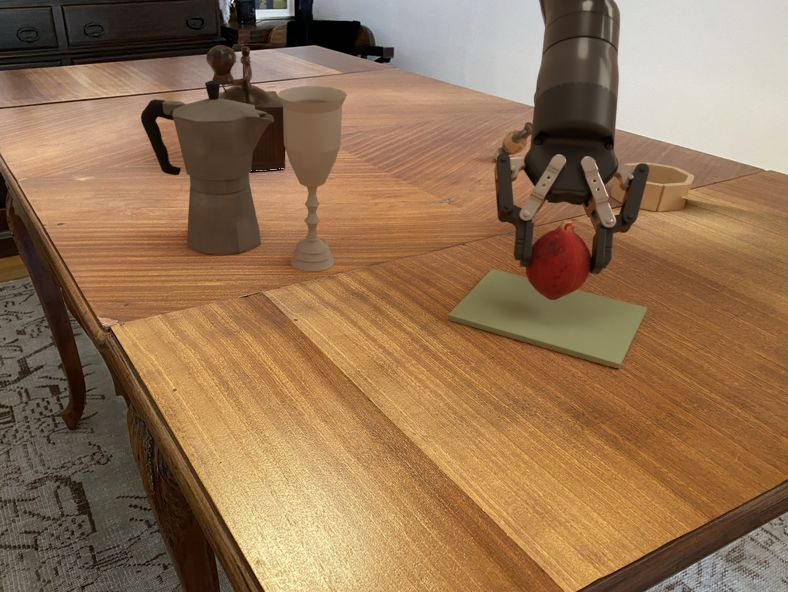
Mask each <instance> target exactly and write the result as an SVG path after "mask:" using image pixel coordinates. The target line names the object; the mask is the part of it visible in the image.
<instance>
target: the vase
mask: <svg viewBox="0 0 788 592" xmlns="http://www.w3.org/2000/svg"><path fill="white" fill-rule="evenodd" d="M532 123H533V122H531V121H528V122H525V123H524V126H523V128H522V129H521V130H511V131H509V132H508V133H506V135H505V137H504V138H503V141H502V146H501V147H498V148H497V149H496V150H495V151H493V152H492V154H493V156H492V160H493V161H496V160H497V157H498V155H499V154H501V153H506V154H508V155H509V157H510V156H511V157H512V158H515V157H514V155H517V154H520V153H521V152H523V151H524V149H525V148H526V147H527V144H528V138H529V137H531V133H532ZM511 157H510V158H511Z"/></svg>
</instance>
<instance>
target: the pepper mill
mask: <svg viewBox="0 0 788 592" xmlns="http://www.w3.org/2000/svg"><path fill="white" fill-rule="evenodd" d="M240 51H241V57H240V63H241V64H242V78H237V79H234V76H233V74H232V69H233V67H234V65H235V64H236V62H237V55H236V52H235V51H234V49H232V48H231V47H229V46H226V45H222V44H221V45H220V44H219V45H214V46H213V47H211V48H210V49H209V50H208V52H207V53H206V57H205V59H206V63H207V64H208V65H209V67H210V68H211V70H212V71H213V77H212V78H211V81H212V80H213V81H217V82H220V86H221V87H222V89H223V91H221V92H220V91H219V98H221V99H226V100H232V101H236V102H241V103H246V104H251V105H255V109H256V110H259V111H263V112H267V114H270V115H272V117H273V119H274V122H273V123H270V124H269V125H268V126H267V127H266V129H265V131H264V132H263V134H262V136H261V137H260V139H259V141H258V143H257V145H256V147H255V149H254V151H253V155H252V165H251V170H252V171H256V170H270V169H279V168H280V169H281V168H285V169H286V149H285V146H284V123H283V105H282V103H281V101H280V99H279V96H278V93H277V91H275V90H264V89H263V88H261V87H258V86H257V85H253V84H252V83H251V80H252V78H253V70H252V66H251V65H252V64H251V63H252V61H251V56H250V54H251V48H250V47H249V46H245V45H244V46H242V47H241V49H240ZM225 86H231V87H229V88H226V87H225Z"/></svg>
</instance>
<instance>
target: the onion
mask: <svg viewBox="0 0 788 592" xmlns="http://www.w3.org/2000/svg"><path fill="white" fill-rule="evenodd" d="M575 228H576V224H575V223H574V222H573V221H572V220H571V219H570V220H564V221H562V223H560V224H559V225H558V226H557V228H555V229H552V230H550V231H548V232H545V233H544V234H542V235H541V236H540V237H539V238H538V239H537V240H536V241H535V242H534V243H532V251H531V259H530V263H529V265H528V267H525V275H526V277H527V278H528V281H529V282H530V283H531V285H532V286H533V287H534V288H535V289H536V291H538V292H539V293H540V294H542V295H543V296H545V297H546V298H547V299H549V300H556V299H558V298H560V297H563V296H565V295H568V294H570V293H572V292H574V291H576V290H579V289H580V288H581V287H582V286H583V285H584V284H585V283H586V281H587V279H588V277H589V275H590V274H591V273H590V268H591V263H592V259H591V254H592V253H591V251H590V249H589V248H588V245H587V244H586V242H585V241H584V239H583V238H582V237H581V236H580V235H579V234H578V233H576V232H575V231H574V229H575Z"/></svg>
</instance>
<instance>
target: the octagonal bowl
mask: <svg viewBox="0 0 788 592" xmlns="http://www.w3.org/2000/svg"><path fill="white" fill-rule="evenodd" d="M640 163H645V164H647V165H648V166H649V168H650V170H649V174H648V178H647V182H646V186H645V190H644V194H643V197H642V201H641V205H640V209H641V210H645V211H650V212H651V211H652V212H659V213H660V212H661V213H662V212H669V211H670V212H671V211H682V210H684V208H685V207H686V205H687V203H688V201H689V199H688V198H684V197H686V196H688V195H689V194H690V191H691V189H692V187H693V183H694V179H695V175H693V174H692V173H689V172H688V171H685V170H684V169H682V168H679V167H678V166H677V167H676V166H673V165H666V164H661V163H654V162H648V161H647V162H643V161H642V162H630V163H623V164H624V165H629V166H633V167H636V166H637V165H638V164H640ZM624 194H625V191H623V190H622V189H621V188H620V186H619V180H618V178H616V177H613V181H612V187H611V191H610V197H611V198H613V199H614V200H616V201H618V202H619V203H621V204H622V202H623V198H624ZM640 209H639V210H640Z"/></svg>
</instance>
